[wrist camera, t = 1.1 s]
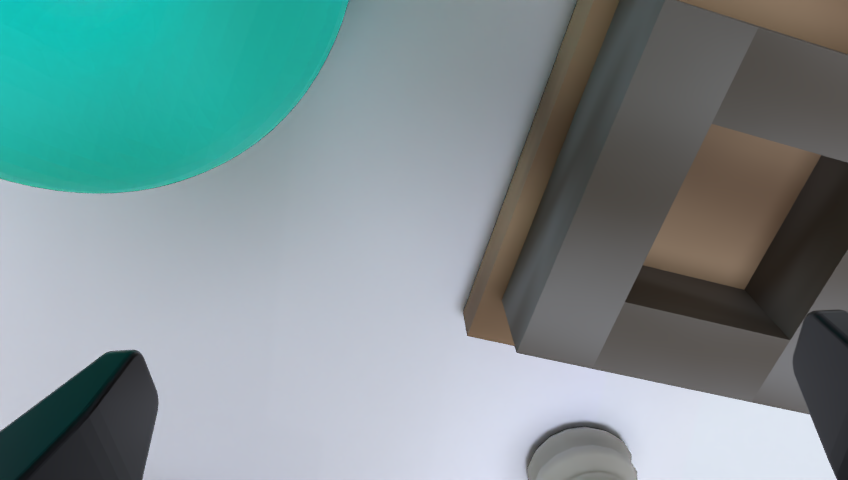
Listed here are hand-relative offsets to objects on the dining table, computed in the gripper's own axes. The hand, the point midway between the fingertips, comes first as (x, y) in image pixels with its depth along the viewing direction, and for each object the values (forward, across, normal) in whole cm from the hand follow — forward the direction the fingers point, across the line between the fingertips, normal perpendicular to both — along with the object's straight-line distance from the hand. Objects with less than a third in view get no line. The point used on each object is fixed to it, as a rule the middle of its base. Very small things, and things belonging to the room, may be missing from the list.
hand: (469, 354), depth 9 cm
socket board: (+14, -8, +5) cm, 17 cm away
